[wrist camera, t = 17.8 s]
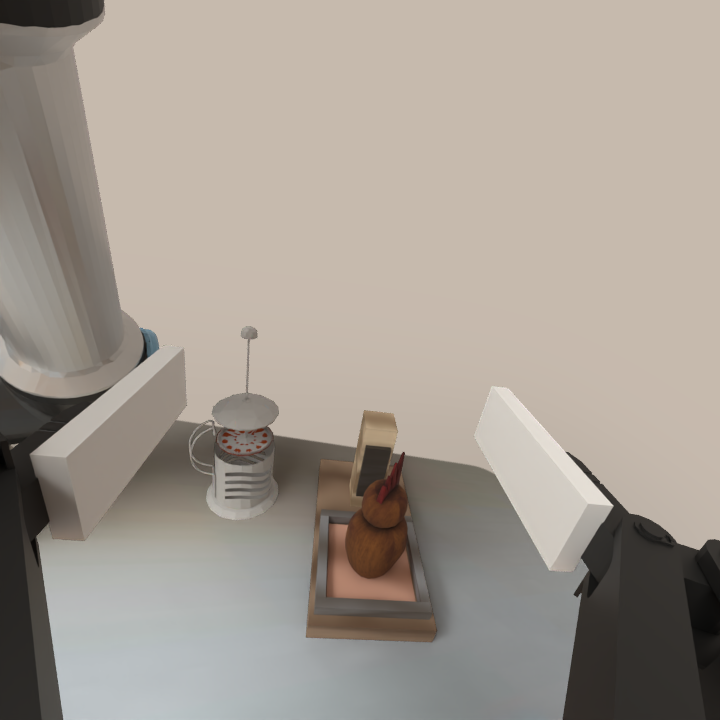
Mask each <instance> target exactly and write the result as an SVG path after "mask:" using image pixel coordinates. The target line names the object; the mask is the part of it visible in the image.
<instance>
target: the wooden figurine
mask: <svg viewBox="0 0 720 720" xmlns="http://www.w3.org/2000/svg"><path fill="white" fill-rule="evenodd" d="M404 455H405V453H404V452H403V453H402V455H401V457H400V460H399V462H398V464H397V463H395V464H394V467H393V469H392V472H391V474H390V476H389V475H388V477H387V479H380V480H376V481H375V482H373V483H372V484H370V485H369V487H368V488H367V489H366V491H365V493H364V496H363V500H362V508H361V509H359V510H358V511H357V512H356V513H355V514H354V515H353V516H352V518H351V519H350V521H349V524H348V527H347V532H346V538H345V548H346V553H347V557H348V561H349V563H350V565H351V567H352V568H353V570H354V571H355V572H356V573H357V574H358V575H359V576H361V577H364V578H367V579H372V578H377V577H380V576H382V575H384V574H385V573H386V572H387V571H388V570H389V569H391V568H392V566H393V565H394V564H395V563H396V562H397V560H398V559H399V558H400V557H401V555H402V554H403V552H404V550H405V547H406V542H407V531H408V527H407V522H406V520H405V517H404V516H405V513H406V511H407V504H408V499H407V495H406V492H405V490H404V489H403V488H402V487H401V486H400V485H399V481H400V476H401V471H402V466H403V461H404Z"/></svg>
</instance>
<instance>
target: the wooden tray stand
mask: <svg viewBox="0 0 720 720" xmlns="http://www.w3.org/2000/svg"><path fill="white" fill-rule="evenodd" d="M397 433H398V430H397V426H396V422H395V418H394V414H391V413H383V412H374V411H366V410H364V413H363V419H362V424H361V429H360V434H359V439H358V444H357V449H356V454H355V459H354V462H347V461H337V460H326V459H321V461H320V468H319V480H318V492H317V505H316V517H315V530H314V542H313V555H312V567H311V580H310V592H309V605H308V617H307V630H306V637H308V638H335V639H361V640H388V641H414V642H432V641H433V639H434V637H435V634H436V632H437V629H436V624H435V620H434V615H433V611H432V606H431V602H430V597H429V593H428V588H427V584H426V579H425V575H424V571H423V566H422V562H421V557H420V553H419V548H418V544H417V539H416V535H415V530H414V526H413V521H412V517H411V512H410V508H409V504H407V511H406V513H405V516H404V517H405V520H406V522H407V527H408V531H407V542H406V547H405V550H404V552H403V554H402V555H401V557H400V558H399V559H398V560H397V562H396V563H395V564H394V565H393V566H392V568H391V569H389V570H388V571H387V572H386V573H385V574H384V575H382V576H380V577H377V578H372V579H367V578H364V577H361V576H359V575H358V574H357V573H356V572H355V571H354V570H353V568H352V567H351V565H350V563H349V561H348V557H347V553H346V548H345V538H346V532H347V527H348V524H349V521H350V519H351V518H352V516H353V515H354V514H355V513H356V512H357V511H358V510H359V509H361V508H362V500H363V496H364V493H365V491H366V489H367V488H368V487H369V485H370V484H372V483H373V482H375V481H376V480H380V479H387V477H388V475H389V476H390V474H391V472H392V469H393V467H394V466H389V465H390V461H391V457H392V453H393V449H394V445H395V441H396V437H397ZM399 485H400V486H401V487H402V488H403V489H404V490H405V486H404V481H403V477H402V472H401V476H400V481H399ZM405 492H406V490H405Z"/></svg>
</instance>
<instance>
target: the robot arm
mask: <svg viewBox="0 0 720 720" xmlns="http://www.w3.org/2000/svg"><path fill="white" fill-rule="evenodd" d="M104 15H105V8H104V0H0V720H63V715H62V707H61V700H60V693H59V686H58V679H57V672H56V665H55V658H54V651H53V644H52V637H51V630H50V623H49V616H48V609H47V602H46V594H45V587H44V580H43V573H42V566H41V559H40V552H39V545H38V542H37V538H36V536H37V535H38V534H39V533H40V531H41V530H42V529H43V528H44V527H45V526H46V525H47V524H48V523H49V527H50V530H51V534H52V538H53V539H62V540H78V541H85V540H86V538H87V537H88V536H89V534H90V533H91V532H92V530H93V529H94V528H95V526H96V525H97V524H98V523H99V521H100V520H101V519H102V517H103V516H104V515H105V513H106V512H107V511H108V509H109V508H110V507H111V505H112V504H113V503H114V501H115V500H116V499H117V497H118V496H119V495H120V493H121V492H122V491H123V489H124V488H125V487H126V485H127V484H128V483H129V481H130V480H131V479H132V477H133V476H134V475H135V473H136V472H137V471H138V469H139V468H140V467H141V466H142V464H143V463H144V462H145V460H146V459H147V458H148V456H149V455H150V454H151V452H152V451H153V450H154V448H155V447H156V446H157V444H158V443H159V442H160V440H161V439H162V438H163V436H164V435H165V434H166V432H167V431H168V430H169V428H170V427H171V426H172V424H173V423H174V422H175V420H176V419H177V418H178V416H179V415H180V414H181V412H182V411H183V410H184V408H185V407H186V406H187V405H186V404H187V403H186V380H185V357H184V347H176V346H169V345H163V346H162V347H161V348H160V349H159V344H158V339H157V336H156V334H155V333H154V332H152V331H151V330H147V329H143V328H139V326H138V325H137V323H136V322H135V321H134V319H132V318H131V317H130V316H129V315H128V314H127V313H125V312H124V311H122V310H121V308H120V303H119V298H118V292H117V286H116V281H115V276H114V269H113V264H112V258H111V253H110V247H109V242H108V237H107V231H106V225H105V220H104V215H103V209H102V203H101V198H100V192H99V187H98V182H97V177H96V171H95V165H94V160H93V154H92V149H91V143H90V138H89V132H88V127H87V121H86V116H85V110H84V105H83V100H82V94H81V88H80V83H79V78H78V72H77V66H76V61H75V56H74V50H73V46H74V44H75V43H76V42H77V41H78V40H80V39H81V38H82V37H84V36H85V35H87V34H88V33H89V32H91V31H92V30H93V29H95V28H96V27H97V26H98V25H99V24H100V23H101V22H102V21H103V19H104ZM474 438H475V440H476V441H477V443H478V445H479V447H480V448H481V450H482V452H483V454H484V456H485V457H486V459H487V461H488V463H489V464H490V466H491V468H492V470H493V471H494V473H495V475H496V477H497V479H498V480H499V482H500V484H501V486H502V487H503V489H504V491H505V493H506V495H507V496H508V498H509V500H510V502H511V503H512V505H513V507H514V509H515V510H516V512H517V514H518V516H519V518H520V519H521V521H522V523H523V525H524V526H525V528H526V530H527V532H528V533H529V535H530V537H531V539H532V541H533V542H534V544H535V546H536V548H537V549H538V551H539V553H540V555H541V556H542V558H543V560H544V562H545V564H546V565H547V567H548V569H549V571H561V572H573V571H574V569H575V568H576V566H577V565H578V563H579V561H580V560H581V558H582V560H583V561H584V563H585V564H586V566H587V567H588V569H589V571H588V572H587V574H586V576H585V577H584V579H583V580H582V582H581V583H580V585H579V586H578V588H577V590H576V591H575V593H574V595H575V596H576V597H578V596H579V594H580V593H582V595H581V602H580V608H579V615H578V621H577V628H576V635H575V641H574V648H573V655H572V661H571V668H570V674H569V681H568V688H567V694H566V701H565V708H564V714H563V720H720V541H719V540H715V539H714V540H708V541H707V542H706V543H705V545H704V546H703V547H702V548H701V549H700V551H699V550H696V549H693V548H690V547H687V546H684V545H681V544H678V543H677V542H676V541H675V539H673V537H672V536H671V535H670V534H669V533H668V532H667V531H666V530H664V529H663V528H662V527H661V526H659V525H658V524H656V523H654V522H653V521H651V520H649V519H647V518H644V517H642V516H639V515H634V514H629V513H628V511H627V510H626V509H625V508H624V507H623V506H622V505H621V504H620V503H619V502H618V501H617V500H616V498H615V497H614V496H613V495H612V494H611V493H610V492H609V491H608V490H607V489H606V488H605V487H604V485H603V484H600V481H599V480H598V479H597V478H596V477H595V476H594V475H592V472H591V471H589V469H588V468H587V467H586V466H585V465H584V464H583V463H582V462H581V461H580V460H578V459H577V458H576V457H574V456H573V455H571V454H570V453H569V452H565V451H564V450H563V449H562V448H561V447H560V446H559V445H558V443H557V442H556V441H555V440H554V439H553V438H552V437H551V436H550V435H549V433H548V432H547V431H546V430H545V429H544V428H543V427H542V425H541V424H540V423H539V422H538V421H537V420H536V419H535V418H534V417H533V416H532V414H531V413H530V412H529V411H528V410H527V409H526V408H525V406H523V404H522V403H521V402H520V401H519V400H518V399H517V398H516V396H515V395H514V394H513V393H512V392H511V391H510V390H509V389H508V388H503V387H495V386H492V387H491V390H490V393H489V396H488V398H487V401H486V404H485V407H484V410H483V413H482V415H481V418H480V421H479V423H478V426H477V429H476V432H475V435H474ZM17 443H19V444H18V445H17V446H15V447H14V448H13V447H12V446H11V444H17Z"/></svg>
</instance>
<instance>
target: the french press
mask: <svg viewBox="0 0 720 720" xmlns="http://www.w3.org/2000/svg"><path fill="white" fill-rule="evenodd" d="M241 337H242V338H244V339H248V353H247V380H246V393H242V394H236V395H232V396H230V397H227V398H225V399H223V400H221V401H219V402H218V403H217V404H216V405H215V406H214V407H213V411H212V415H213V417H214V419H215V421H216V422H217V423H218V424H220V425H222V426H224V428H222V429H221V430H220V431H219V433H218V434H217V438H216V442H215V446H214V466H213V465H210V464H206V463H202V462H200V461H198V460H197V459H196V458H195V457H194V455H193V454H192V449H193V446H194V444H195V442H196V440H197V439H198V438H199V437H200V436H201V435H202V434H203V433H205V432H207V431H209V430H213V435H214V436H215V435H216V429H215V428H214V421H212V420H208V421H206V422H204V423H202V424H200V425H199V426H198V427H197V428H196V429H195V430H194V432H193V433H192V435H191V437H190V439H189V453H190V460H191V463H192V465H193V467H194V468H195V469H196V470H198V471H199V472H201V473H204V474H209V475H213V482H212V484H211V485H210V487H209V488H208V490H207V496H206V501H207V503H208V506H209V508H210V510H211V511H213V512H214V513H216V514H217V515H218V516H220V517H222V518H227V519H231V520H243V519H251V518H253V517H256V516H258V515H260V514H263V513H264V512H266V511H267V510H268V509H269V508H270V507H271V506H272V505H273V504H274V503H275V500H276V498H277V496H278V484H277V482H276V481H275V479H274V478H273V477H272V476H273V463H274V451H275V444H274V440H273V432H272V431H271V430H270V428H269V427H267V426H268V425H269V424H271V423H273V422H274V420H275V419H276V417H277V416H278V414H279V410H278V406H277V405H276V404H275V403H274V401H272V400H270V399H268V398H266V397H264V396H261V395H257V394H251V393H248V371H249V342H250V339H255V338H257V330H256V329H255V328H253V327H251V326H247V327H244V328H243V329H242V331H241ZM208 422H212V428H208V429H207V430H205V431H203V432H201V433H200V434H199V435H198V436H197V437H196V438H195V440H194V441H193V443H192V446H191V441H192V438H193V436H194V434H195V433H196V431H197V430H198V429H199V428H200V427H201V426H202V425H204V424H206V423H208ZM222 451H225V452H224V453H223V455H222V456H221V457H220V454H221V453H222ZM262 451H263V452H265V453H266V454H265V455H262V454H259V453H260V452H262ZM227 454H231V455H230V456H228V457H227V458H226V459H224V460H223V461H222V459H223V457H224V456H225V455H227ZM250 455H255V456H258V457H260V458H263V459H265V460H264V461H260V460H257V459H255V458H253V457H250ZM234 457H242V458H246V459H248V460H251V461H253V462H256V464H254V465H253V464H251V463H248V462H245V461H242V460H234V461H231V462H230V463H225V462H227V461H228V460H230V459H231V458H234ZM192 458H193V459H194V460H195V462H197V463H199V464H201V465H205V466H210V467H212V471H213V473H209V472H204V471H202V470H200V469H198V468H197V467H196V466H195V464H194V462H193V460H192Z"/></svg>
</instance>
